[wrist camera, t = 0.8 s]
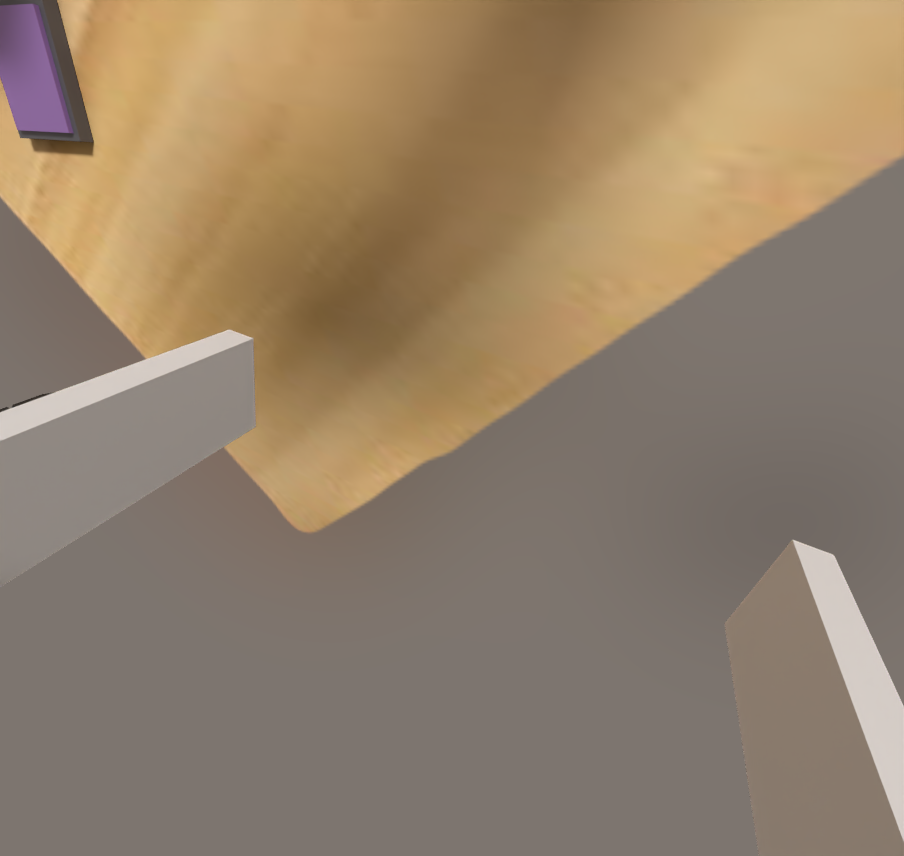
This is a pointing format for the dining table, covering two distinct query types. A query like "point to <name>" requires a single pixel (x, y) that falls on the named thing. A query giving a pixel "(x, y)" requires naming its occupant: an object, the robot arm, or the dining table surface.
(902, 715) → the robot arm
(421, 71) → the dining table surface
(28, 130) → the ink pad
